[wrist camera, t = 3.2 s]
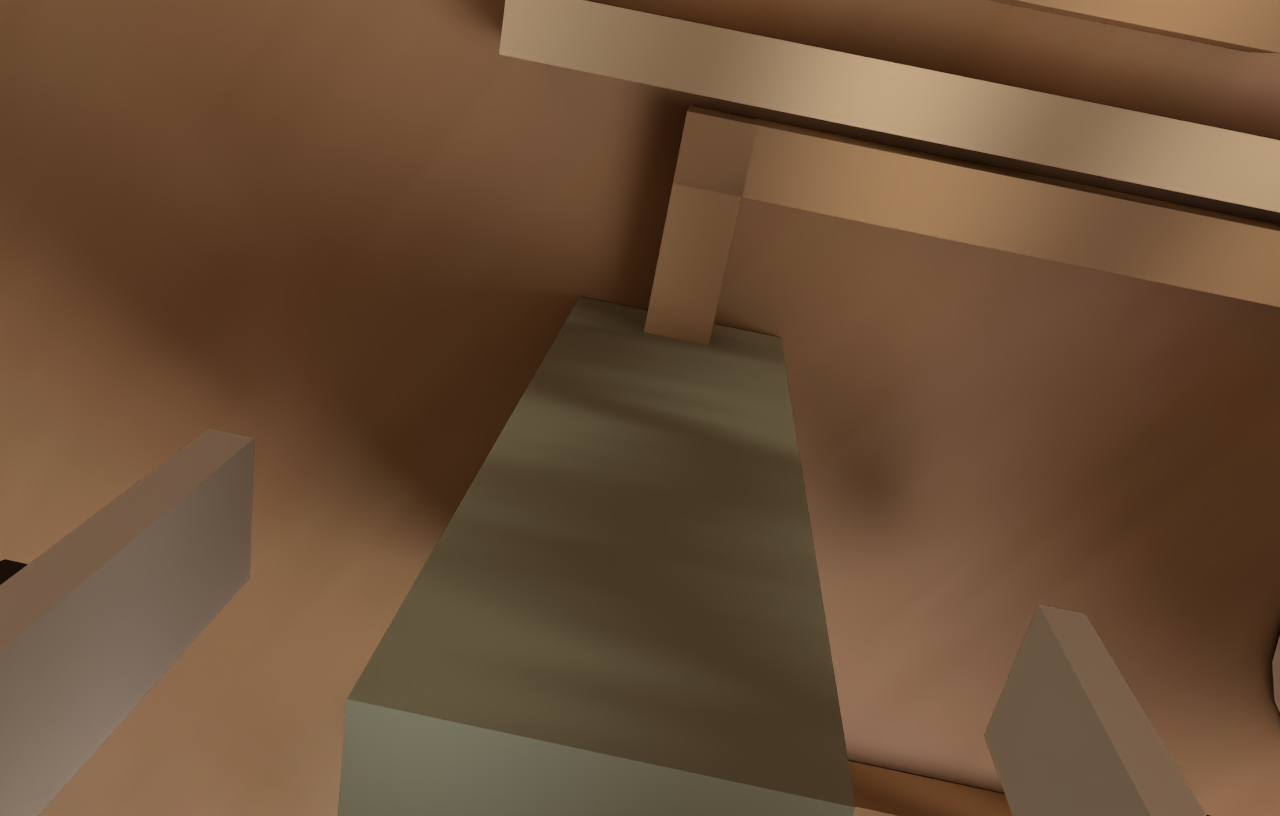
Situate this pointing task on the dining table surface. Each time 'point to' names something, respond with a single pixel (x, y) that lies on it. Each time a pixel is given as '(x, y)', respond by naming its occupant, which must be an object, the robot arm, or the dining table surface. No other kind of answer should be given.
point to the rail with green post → (696, 518)
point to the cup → (1276, 675)
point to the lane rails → (934, 88)
